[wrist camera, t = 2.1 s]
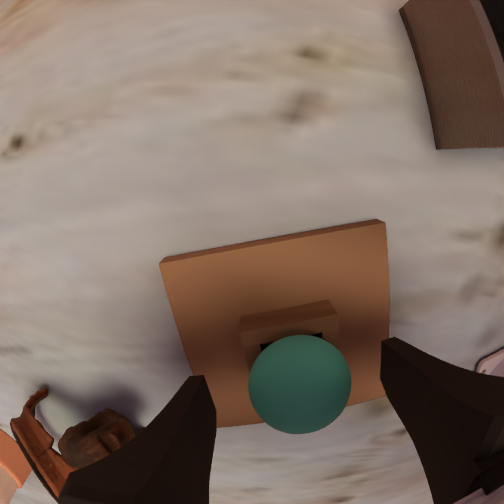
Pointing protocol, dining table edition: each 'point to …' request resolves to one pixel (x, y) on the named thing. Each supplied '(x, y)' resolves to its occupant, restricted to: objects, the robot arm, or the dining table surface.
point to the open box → (460, 68)
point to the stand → (282, 307)
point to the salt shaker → (11, 468)
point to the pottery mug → (67, 443)
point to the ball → (299, 384)
